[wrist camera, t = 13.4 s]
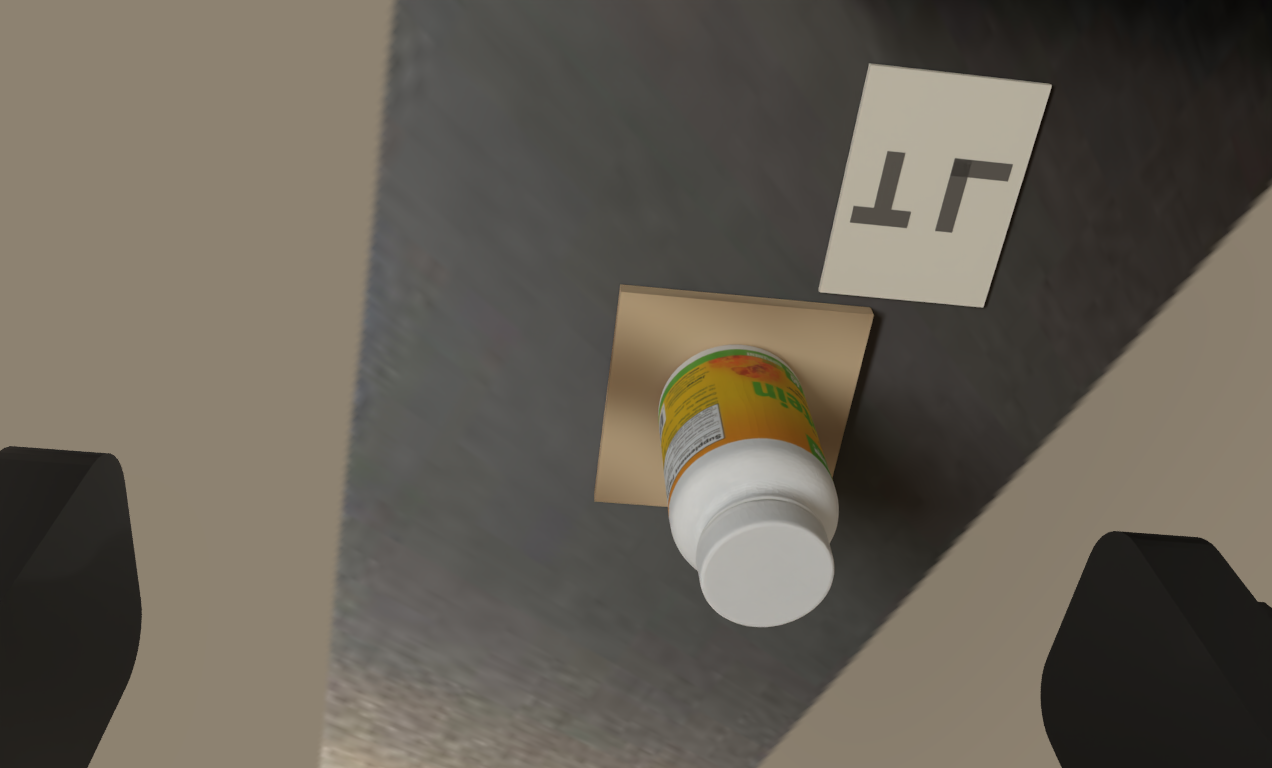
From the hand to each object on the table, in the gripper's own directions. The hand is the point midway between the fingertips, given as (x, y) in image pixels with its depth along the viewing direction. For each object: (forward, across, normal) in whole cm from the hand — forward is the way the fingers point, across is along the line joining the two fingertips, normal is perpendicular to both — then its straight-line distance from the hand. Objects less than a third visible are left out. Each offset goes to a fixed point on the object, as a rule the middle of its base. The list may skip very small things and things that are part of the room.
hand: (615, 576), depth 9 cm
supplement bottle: (+28, -6, +15) cm, 32 cm away
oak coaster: (+28, -6, +15) cm, 33 cm away
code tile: (+28, -12, +6) cm, 31 cm away
